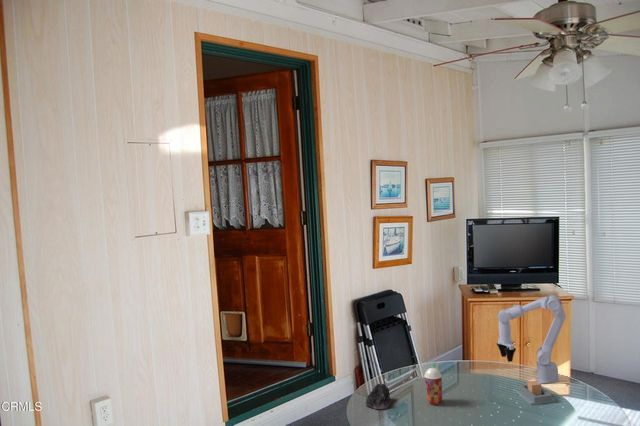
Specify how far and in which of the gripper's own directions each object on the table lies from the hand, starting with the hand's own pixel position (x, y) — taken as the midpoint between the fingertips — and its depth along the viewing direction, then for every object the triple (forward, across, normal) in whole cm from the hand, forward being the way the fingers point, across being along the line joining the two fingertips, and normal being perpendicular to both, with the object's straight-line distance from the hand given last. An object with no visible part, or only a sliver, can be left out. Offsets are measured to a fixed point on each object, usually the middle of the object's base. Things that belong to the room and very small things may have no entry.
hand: (506, 358), depth 272 cm
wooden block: (+10, +25, +2) cm, 27 cm away
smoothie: (+11, +18, -45) cm, 50 cm away
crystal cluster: (+11, +12, -72) cm, 73 cm away
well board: (+10, +25, +2) cm, 27 cm away
